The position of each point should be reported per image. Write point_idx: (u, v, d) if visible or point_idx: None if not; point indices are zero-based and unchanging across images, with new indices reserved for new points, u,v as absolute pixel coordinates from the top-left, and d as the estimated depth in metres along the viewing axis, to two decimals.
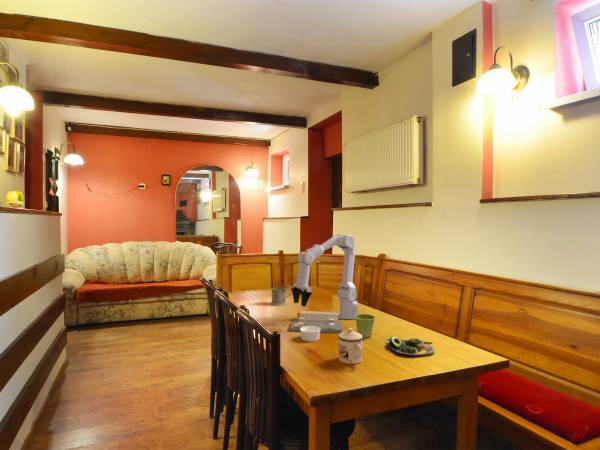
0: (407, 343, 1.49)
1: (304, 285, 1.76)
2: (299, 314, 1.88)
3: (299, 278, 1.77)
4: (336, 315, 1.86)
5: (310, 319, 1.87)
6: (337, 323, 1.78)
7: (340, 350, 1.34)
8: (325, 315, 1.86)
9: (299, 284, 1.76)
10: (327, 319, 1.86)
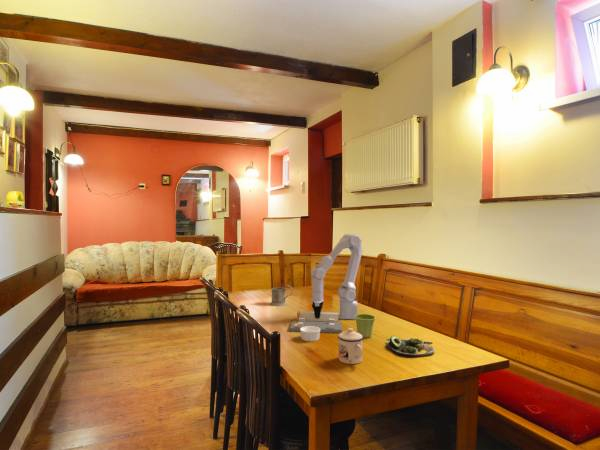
0: (407, 343, 1.49)
1: (316, 299, 1.86)
2: (299, 314, 1.88)
3: (312, 292, 1.88)
4: (336, 315, 1.86)
5: (310, 319, 1.87)
6: (337, 323, 1.78)
7: (340, 350, 1.34)
8: (325, 315, 1.86)
9: (312, 298, 1.87)
10: (327, 319, 1.86)
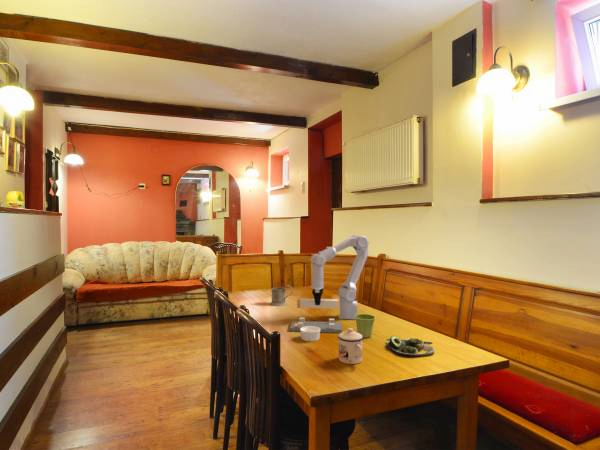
0: (407, 343, 1.49)
1: (316, 286, 1.86)
2: (299, 301, 1.88)
3: (312, 279, 1.88)
4: (336, 302, 1.86)
5: (310, 306, 1.87)
6: (337, 323, 1.78)
7: (340, 350, 1.34)
8: (325, 302, 1.86)
9: (313, 285, 1.87)
10: (327, 306, 1.86)
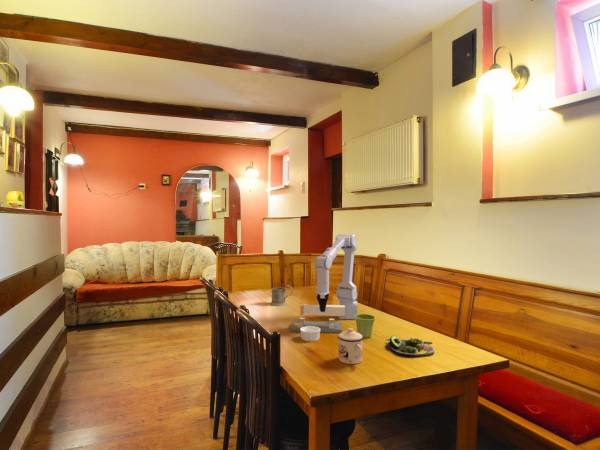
0: (407, 343, 1.49)
1: (322, 291, 1.72)
2: (302, 307, 1.73)
3: (317, 284, 1.73)
4: (343, 308, 1.72)
5: (314, 313, 1.73)
6: (337, 323, 1.78)
7: (340, 350, 1.34)
8: (331, 308, 1.72)
9: (317, 290, 1.73)
10: (333, 313, 1.72)
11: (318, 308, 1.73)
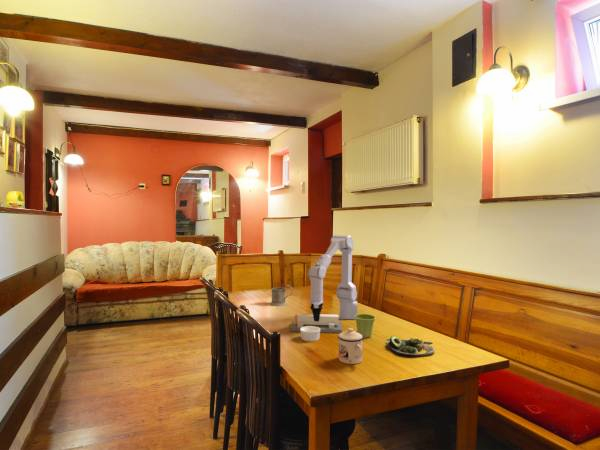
0: (407, 343, 1.49)
1: (315, 300, 1.72)
2: (296, 317, 1.74)
3: (311, 293, 1.74)
4: (336, 318, 1.72)
5: (308, 322, 1.73)
6: None
7: (340, 350, 1.34)
8: (325, 318, 1.72)
9: (311, 299, 1.73)
10: (327, 322, 1.72)
11: (312, 318, 1.73)
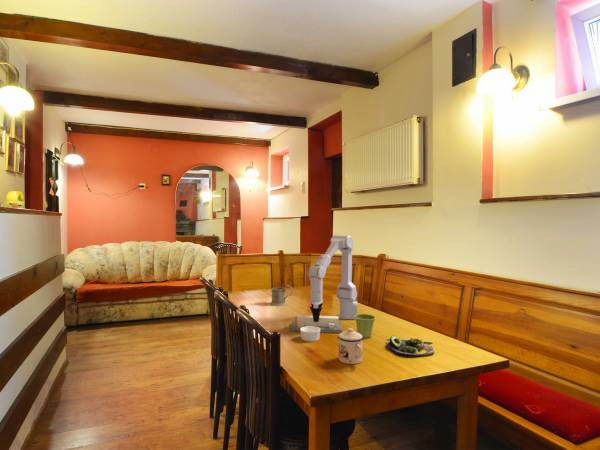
0: (407, 343, 1.49)
1: (315, 300, 1.72)
2: (296, 318, 1.74)
3: (311, 293, 1.74)
4: (336, 320, 1.72)
5: (308, 324, 1.73)
6: None
7: (340, 350, 1.34)
8: (324, 319, 1.73)
9: (311, 299, 1.73)
10: (326, 324, 1.72)
11: (312, 319, 1.73)
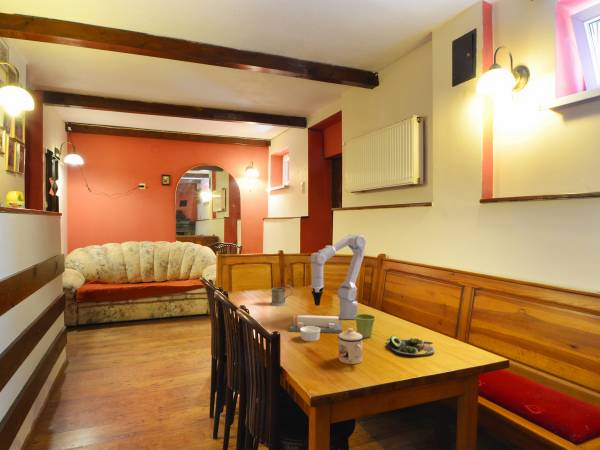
0: (407, 343, 1.49)
1: (316, 285, 1.82)
2: (296, 318, 1.74)
3: (312, 278, 1.84)
4: (336, 320, 1.72)
5: (308, 324, 1.73)
6: None
7: (340, 350, 1.34)
8: (324, 319, 1.73)
9: (312, 284, 1.84)
10: (326, 324, 1.72)
11: (312, 319, 1.73)
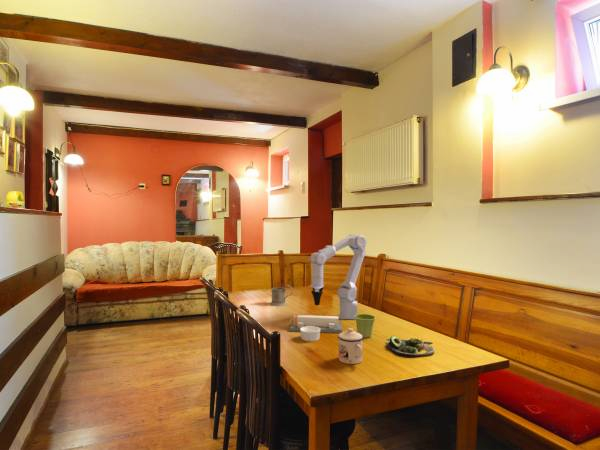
0: (407, 343, 1.49)
1: (316, 285, 1.83)
2: (296, 318, 1.74)
3: (312, 278, 1.85)
4: (336, 320, 1.72)
5: (308, 324, 1.73)
6: None
7: (340, 350, 1.34)
8: (324, 319, 1.73)
9: (312, 284, 1.84)
10: (326, 324, 1.72)
11: (312, 319, 1.73)
